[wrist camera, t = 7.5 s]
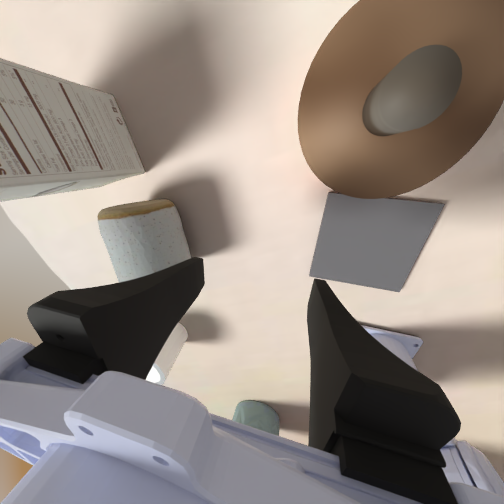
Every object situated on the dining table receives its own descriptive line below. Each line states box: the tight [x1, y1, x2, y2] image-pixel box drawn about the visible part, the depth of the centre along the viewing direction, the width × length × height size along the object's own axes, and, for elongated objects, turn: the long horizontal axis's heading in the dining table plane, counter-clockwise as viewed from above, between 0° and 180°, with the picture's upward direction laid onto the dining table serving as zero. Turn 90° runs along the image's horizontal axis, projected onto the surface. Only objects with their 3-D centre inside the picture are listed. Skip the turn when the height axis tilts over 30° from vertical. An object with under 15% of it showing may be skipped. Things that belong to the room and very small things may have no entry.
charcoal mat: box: [309, 192, 445, 292], centre depth 19 cm, size 9×9×1 cm
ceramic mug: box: [98, 199, 191, 282], centre depth 21 cm, size 11×8×8 cm
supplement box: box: [0, 58, 145, 202], centre depth 15 cm, size 7×7×13 cm
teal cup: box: [232, 400, 279, 436], centre depth 32 cm, size 10×10×12 cm
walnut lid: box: [298, 0, 504, 199], centre depth 10 cm, size 10×10×4 cm
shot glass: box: [146, 322, 188, 385], centre depth 29 cm, size 7×7×7 cm
